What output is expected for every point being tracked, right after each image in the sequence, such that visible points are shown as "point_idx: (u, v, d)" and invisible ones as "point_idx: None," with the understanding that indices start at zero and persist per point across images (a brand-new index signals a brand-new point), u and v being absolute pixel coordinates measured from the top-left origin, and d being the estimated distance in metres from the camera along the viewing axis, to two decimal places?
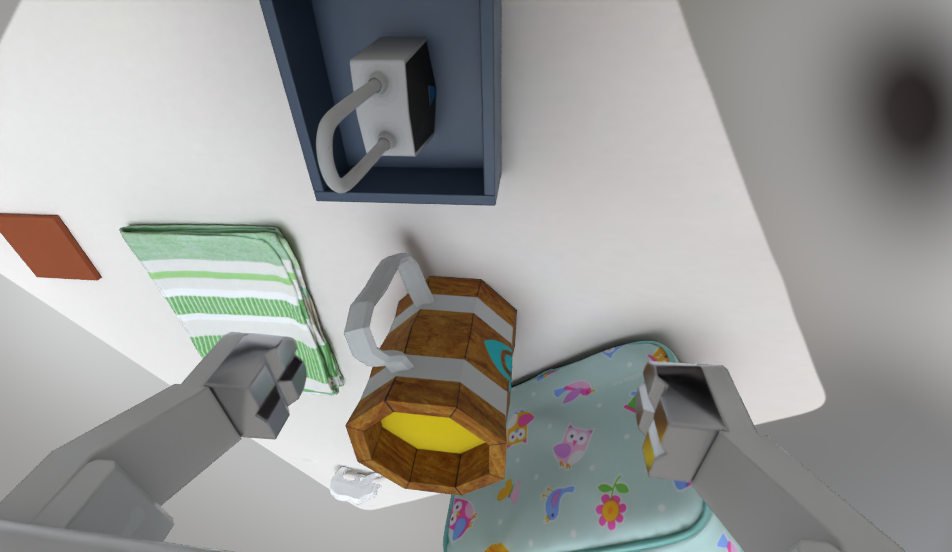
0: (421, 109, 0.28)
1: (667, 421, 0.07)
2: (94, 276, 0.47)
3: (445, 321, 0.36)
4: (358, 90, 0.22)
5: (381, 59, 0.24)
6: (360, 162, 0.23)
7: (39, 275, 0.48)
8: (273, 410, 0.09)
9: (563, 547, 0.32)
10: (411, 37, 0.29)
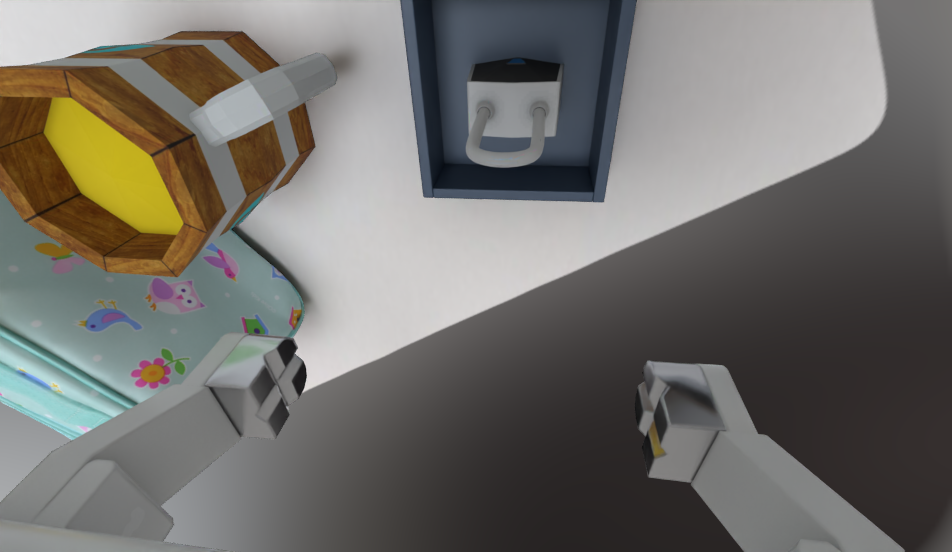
0: None
1: (667, 422, 0.07)
2: None
3: (269, 143, 0.31)
4: None
5: (557, 113, 0.27)
6: (482, 133, 0.23)
7: None
8: (273, 410, 0.09)
9: (71, 358, 0.28)
10: None
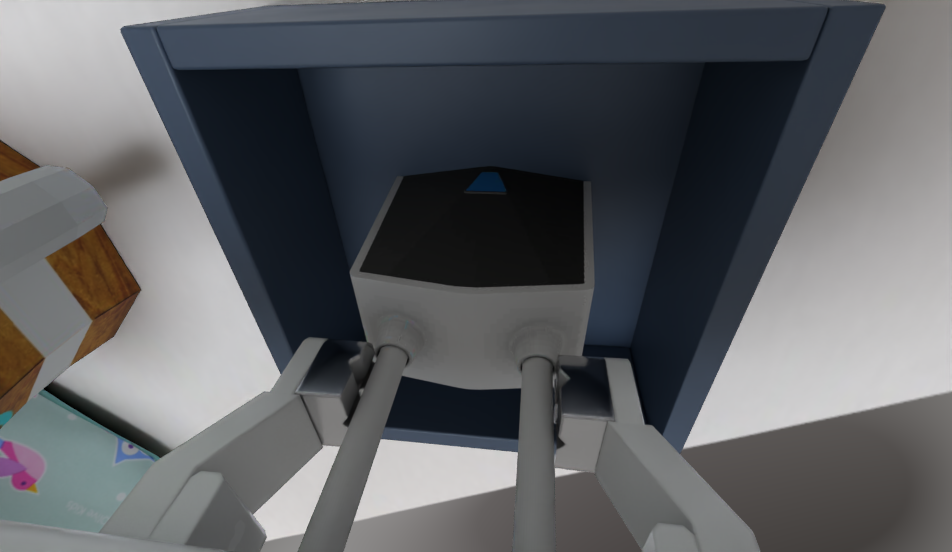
0: None
1: (561, 413, 0.08)
2: None
3: None
4: None
5: (583, 343, 0.11)
6: (344, 541, 0.07)
7: None
8: None
9: None
10: None
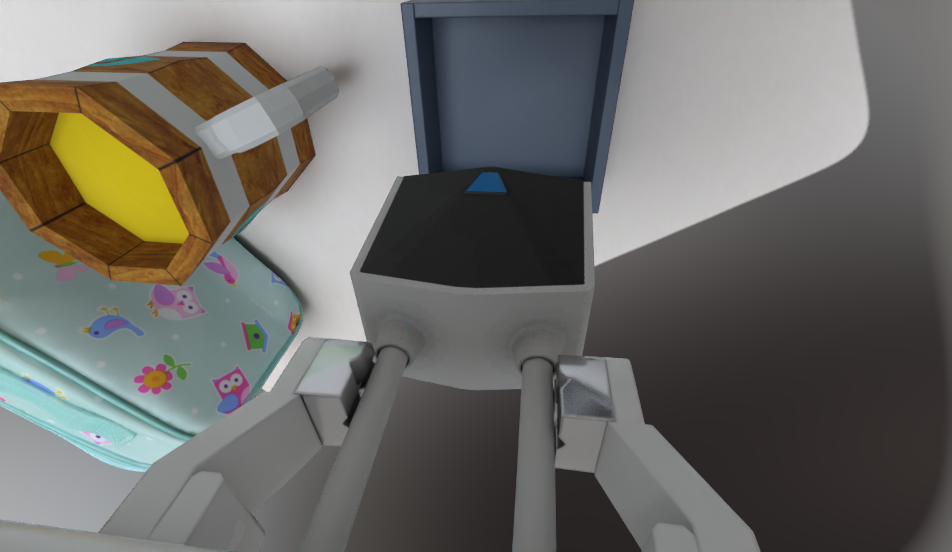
0: None
1: (561, 413, 0.08)
2: None
3: (271, 153, 0.31)
4: None
5: (583, 343, 0.11)
6: (345, 542, 0.07)
7: None
8: None
9: (75, 364, 0.29)
10: None
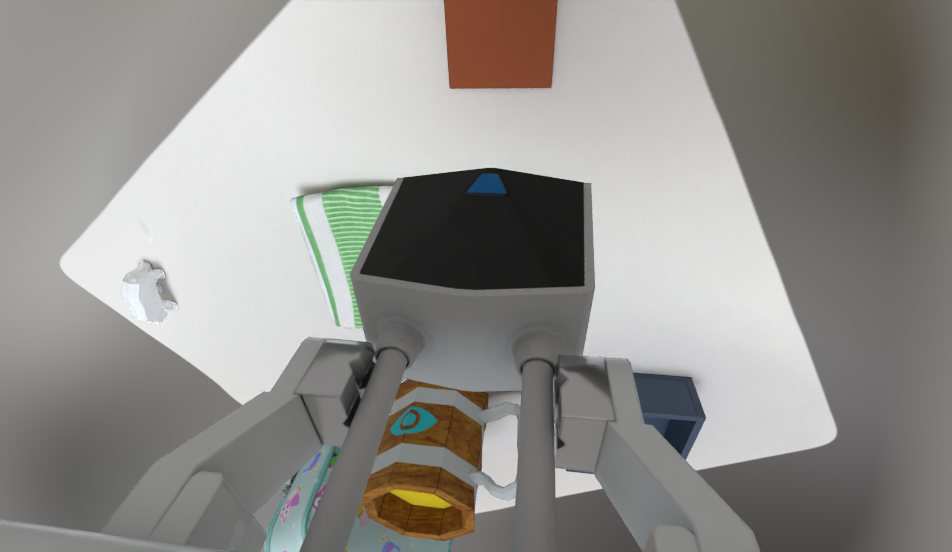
0: None
1: (560, 413, 0.08)
2: (456, 87, 0.33)
3: None
4: None
5: (583, 345, 0.11)
6: (344, 545, 0.07)
7: None
8: None
9: None
10: None
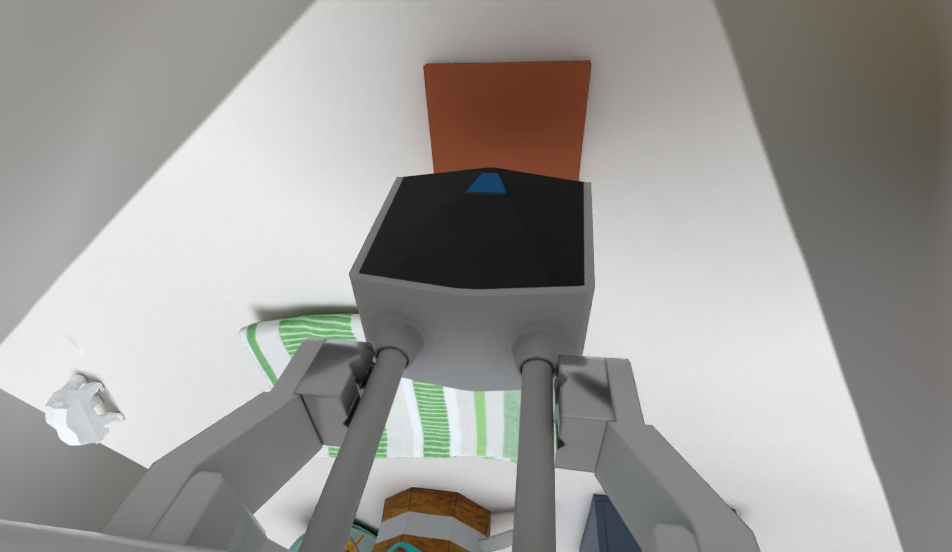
0: None
1: (561, 413, 0.08)
2: None
3: None
4: None
5: (583, 345, 0.11)
6: (343, 545, 0.07)
7: (430, 79, 0.21)
8: None
9: None
10: None
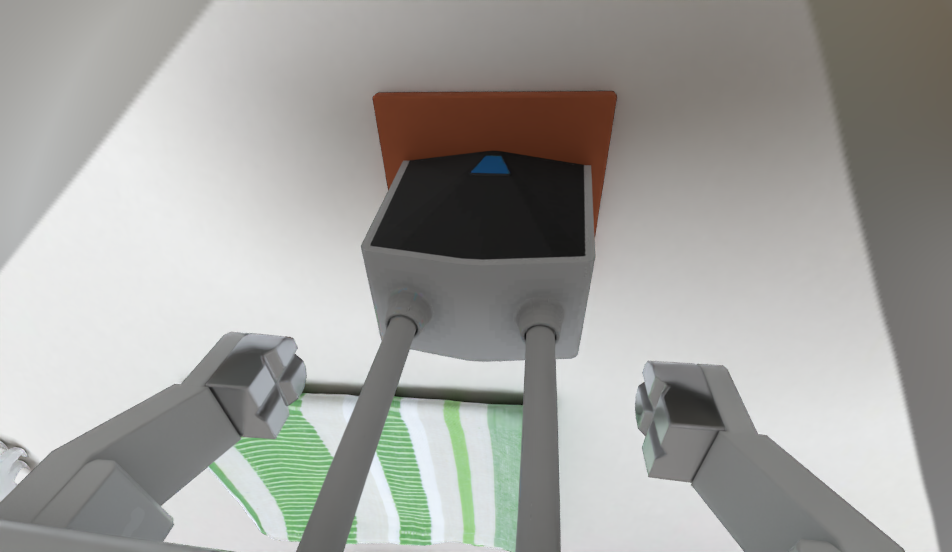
0: None
1: (667, 422, 0.07)
2: None
3: None
4: None
5: (584, 315, 0.11)
6: (362, 487, 0.07)
7: (383, 115, 0.14)
8: (273, 410, 0.09)
9: None
10: None
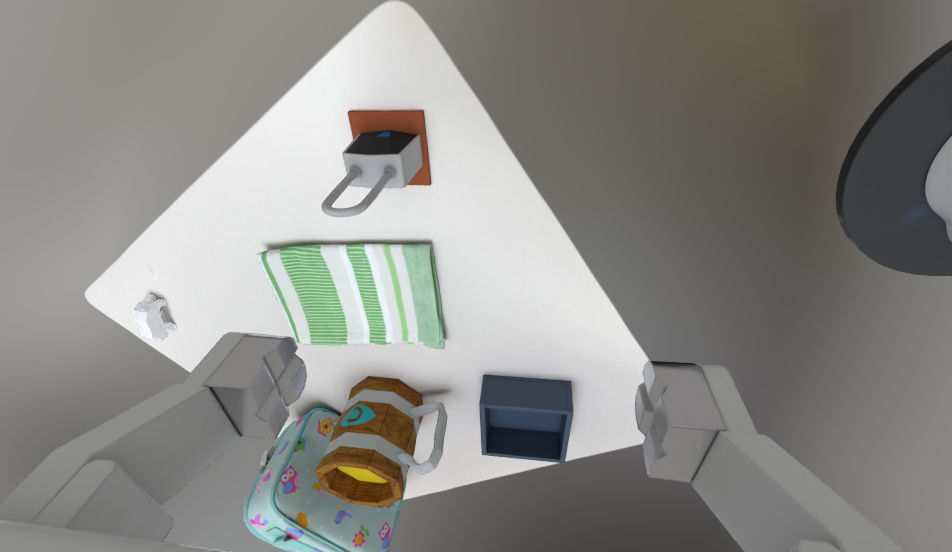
0: None
1: (667, 422, 0.07)
2: None
3: (413, 437, 0.68)
4: (382, 187, 0.37)
5: (403, 173, 0.40)
6: (340, 192, 0.37)
7: (351, 118, 0.44)
8: (273, 410, 0.09)
9: (333, 539, 0.66)
10: (421, 156, 0.45)
